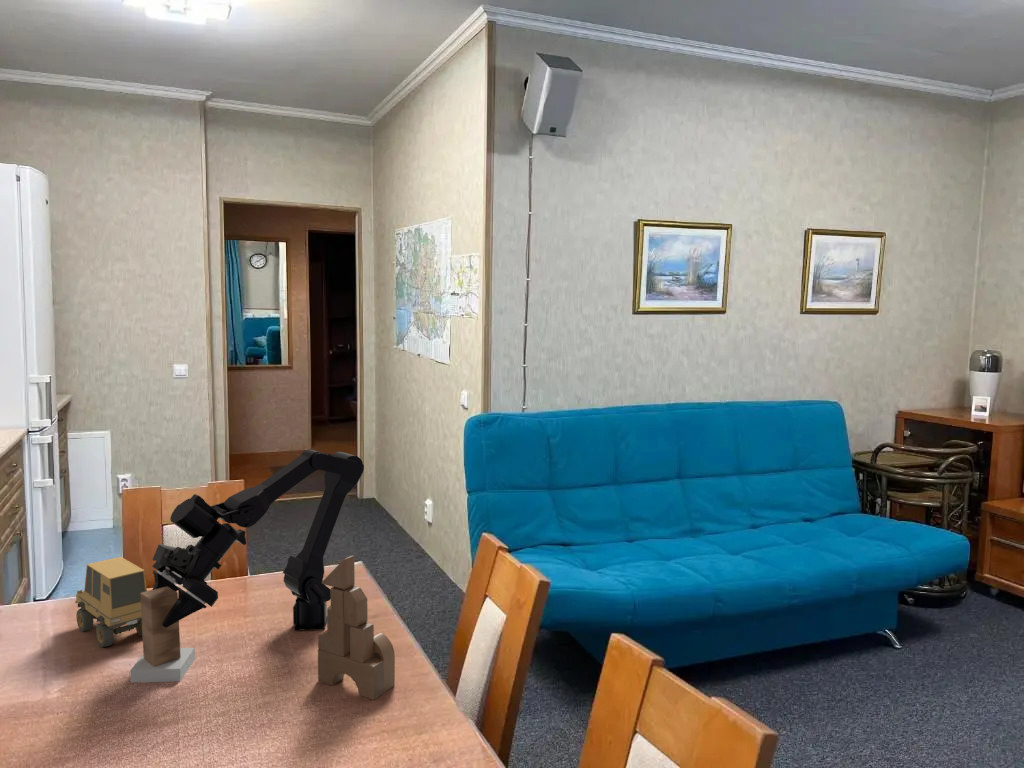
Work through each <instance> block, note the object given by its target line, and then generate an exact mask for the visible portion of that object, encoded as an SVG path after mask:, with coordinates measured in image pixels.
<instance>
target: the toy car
mask: <svg viewBox="0 0 1024 768" xmlns="http://www.w3.org/2000/svg"><path fill="white" fill-rule="evenodd" d="M84 579H85V581H84V589H81V590H76V595H75V604H77V608H79V609H78V610H77V611H76V623H77V627H78V629H79V631H80V632H86V631H90V630H92V629H93V628H94V623H95V622H94V620H96V623H97V622H99V623H98V624H96V626H95V636H96V641H97V644H98V646H99V647H100V648H105V647H106V648H107V647H109V646H112V645H113V643H114V640H115V639H114V638H115V636H114V634H115V635H118V634H122V633H125V632H128V631H129V632H130V631H132V630H136V633H137V634H138V635H139V636H141V637H143V634H142V614H141V594H140V593H142V592H146V591H148V588H147V580H146V573H145V569H143V568H141V567H140V566H138V565H136V564H135V563H133V562H131V561H129V560H127V559H125V558H124V557H122V556H118V557H113V558H108V559H105V560H100V561H96V562H92V563H86V569H85V578H84Z"/></svg>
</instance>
